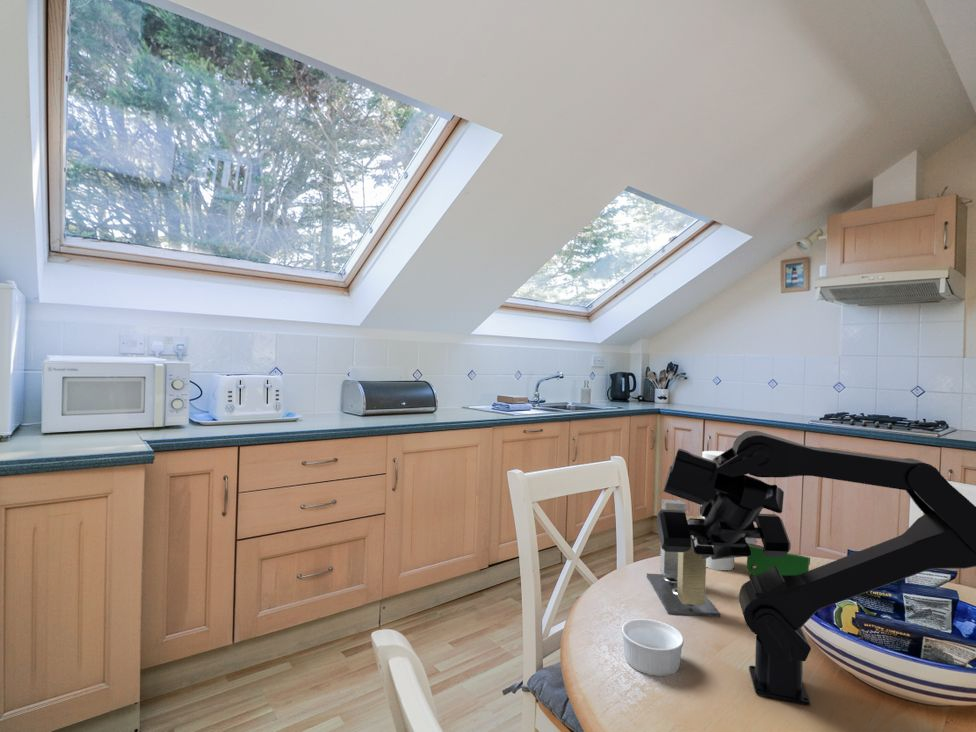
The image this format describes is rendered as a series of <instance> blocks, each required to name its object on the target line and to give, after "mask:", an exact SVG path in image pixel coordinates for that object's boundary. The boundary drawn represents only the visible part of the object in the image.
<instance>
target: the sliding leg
mask: <svg viewBox="0 0 976 732" xmlns="http://www.w3.org/2000/svg"><path fill="white" fill-rule="evenodd" d="M686 518H687V523H688V520H689V519H690V518H694V519H704V518H703V517H701V515H699V516H697V515H686ZM706 574H707V567H706V559H701V555H698V554H696V553H694V551H693V546H692V542H691V548H690V550H689V551H686V552H678V581H677V597H678V599H679V600H680V602H681V603H682V604H688V605H690V606H693V605H705V595H706V584H707V583H706V581H707V580H706V579H707V578H706V577H707V576H706Z"/></svg>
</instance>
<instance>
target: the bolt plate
mask: <svg viewBox="0 0 976 732" xmlns="http://www.w3.org/2000/svg"><path fill="white" fill-rule="evenodd" d="M661 509H662V510H683V511H684V512H685V514H686V515H687V503H686V502H685V501H683V500H682V499H664V498H663V499H661ZM659 560H660V561H659V563H660V564H659V565H660V566H659V571H660V573H661V574H660V573H646V579H648V581H649V583H650V585H651V586H652V587H651V588H653V590H654V592H655V594H656V595H657V597H658V598H659V600H660V602H661V604H662V605H663V608H664V609H665V611H666V613H667V614H668V615H684V616H699V617H716V618H718V617H719V618H720V617H721V613H720V611H719V610H718V608H717V607H715V605H714V604H713V602H712V601H711V599H709V597H708V596H707V595H706V594H705V605H693V606H690V605H688V604H682V603H681V602H680V600H679V599H678V597H677V581H678V552H666V551H665V550H663V549H662V548H661V547H660V559H659Z"/></svg>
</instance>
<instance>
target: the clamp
mask: <svg viewBox="0 0 976 732" xmlns="http://www.w3.org/2000/svg"><path fill="white" fill-rule="evenodd" d="M749 547H750V551H751V555H750V556H749V557H746V569H747V572H748V573H749V574H750V575H758V574H761V573H763V572H765V571H767V570H768V569H770V568H772V567H777V568H778V570H779V572H780V574H781V575H799V574H802V573H805V572H807V571H810V570H809V569H810V568H809V567H810V565H811V557H808V556H804V555H798V554H795V553H787V554H786V555H785V557H769V556H765V555H764V554H763V552H762V549H763V548H764V547H760V546H755V545H749ZM754 566H755V567H756V569H754Z"/></svg>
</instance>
